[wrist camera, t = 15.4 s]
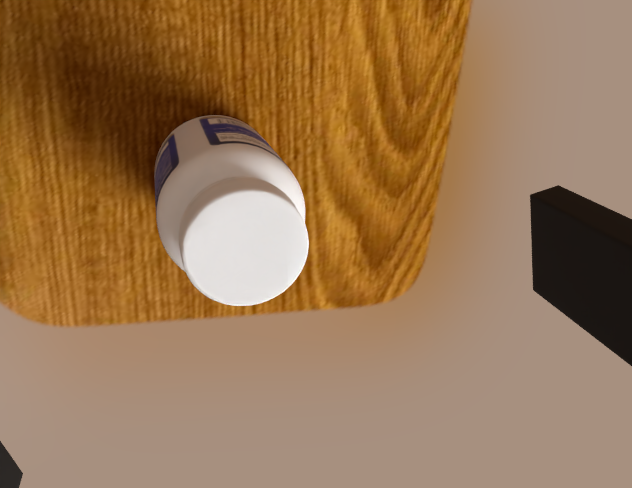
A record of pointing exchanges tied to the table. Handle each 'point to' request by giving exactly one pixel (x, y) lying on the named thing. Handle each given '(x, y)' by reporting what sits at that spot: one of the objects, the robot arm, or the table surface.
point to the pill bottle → (229, 211)
